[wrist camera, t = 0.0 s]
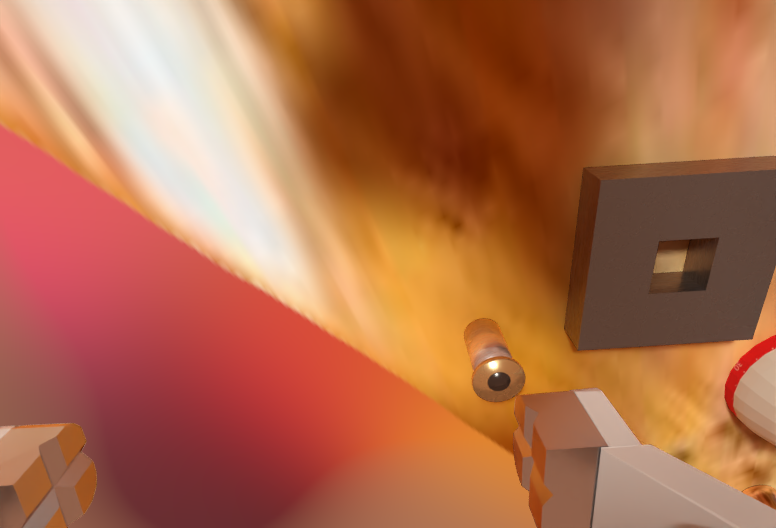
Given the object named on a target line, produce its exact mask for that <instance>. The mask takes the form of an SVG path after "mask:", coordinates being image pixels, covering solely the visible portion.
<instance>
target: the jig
mask: <svg viewBox="0 0 776 528" xmlns="http://www.w3.org/2000/svg"><path fill="white" fill-rule="evenodd" d="M686 239H690V243H689V247H688V252H687V256H686V260H685V265H684V269H683V272H670V273H654V274H653V269H654V264H655V259H656V254H657V249H658V244H659V241H670V240H686ZM775 266H776V156H765V157H749V158H732V159H716V160H700V161H684V162H667V163H651V164H635V165H619V166H602V167H586V168H583V176H582V185H581V193H580V201H579V210H578V218H577V226H576V235H575V243H574V251H573V260H572V268H571V276H570V285H569V293H568V301H567V310H566V318H565V326H564V329H565V331H566V333H567V334H568V336H569V337H570V339H571V341H572V342H573V344H574V345H575V347H576V349H577V350H578V351H579V350H594V349H610V348H625V347H641V346H656V345H672V344H687V343H703V342H718V341H734V340H749V339H753V335H754V332H755V329H756V326H757V323H758V320H759V317H760V313H761V310H762V307H763V304H764V301H765V298H766V295H767V292H768V288H769V285H770V282H771V279H772V276H773V273H774V270H775Z"/></svg>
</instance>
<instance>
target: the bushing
mask: <svg viewBox="0 0 776 528" xmlns="http://www.w3.org/2000/svg"><path fill="white" fill-rule="evenodd" d="M464 339H465V343H466V346H467V349H468V353H469V356H470V360H471V363H472V366H473V370H474V372H473V374H472V385H473V388H474V391H475V392H476V394H477V395H478V396H479V397H481V398H482V399H484V400H487V401H491V402H501V401H505V400H508V399H510V398H512V397H514V396H515V395H517V394H518V393H519V392H520V391H521V389H522V388H523V386H524V383H525V374H524V371H523V369H522V367H521V365H520V364H519V363H518V362H517V361H516V360H514V359H512V356H511V354H510V351H509V349H508V347H507V344H506V342H505V339H504V337H503V335H502V332H501V330H500V328H499V326H498V324H497V323H496V322H495V321H493V320H491V319H486V318H482V319H477V320H475V321H473V322H471V323H470V324H469V325H468V326H467V327H466V329H465V331H464Z"/></svg>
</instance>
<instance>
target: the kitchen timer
mask: <svg viewBox="0 0 776 528" xmlns="http://www.w3.org/2000/svg"><path fill="white" fill-rule="evenodd" d="M725 400H726V402H727V405H728V408H729V409H730V410H731V411H732V412H733V413H734V414H735V415H736V416H737V418H738V419H739V420H740V421H742V422H743V423H744V424H745V425H746V426H747V427H748V428H749V429H750V430H751V431H753V432H754V433H755V434H757V435H758V436H760V437H762V438H763V439H765V440H767V441H768V442H770V443H772V444H773V445H775V447H776V335H774V336H772V337H770V338H768V339H766V340H765V341H763V342H761V343H759V344H757V345H756V346H754V347H753V348H752V349H751V350H749V351H748V352H747V353H746V354H745V355H744V356H742V357H741V358H740V360H739V361H738V362H737V364H736V365H735V366H734V367H733V369H732V370H731V372H730V374H729V377H728V379H727V381H726V384H725Z"/></svg>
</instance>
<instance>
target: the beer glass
mask: <svg viewBox="0 0 776 528" xmlns="http://www.w3.org/2000/svg"><path fill="white" fill-rule="evenodd" d="M742 493H744V494H746V495H748V496H750V497H752V498H754V499H756V500H758V501H759V502H761V503H763V504H765V505H767V506H769V507H771V508H773V509H775V510H776V490H775V489H774V488H773V487H771V486H767V485H757V486H752V487H749V488H747V489H745V490H743V491H742Z"/></svg>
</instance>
